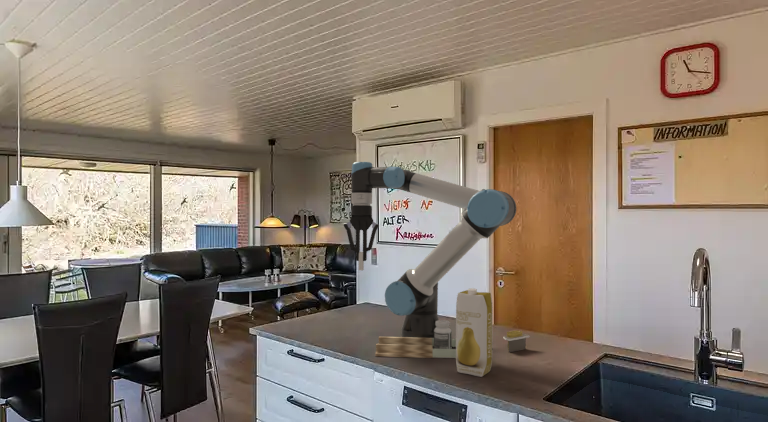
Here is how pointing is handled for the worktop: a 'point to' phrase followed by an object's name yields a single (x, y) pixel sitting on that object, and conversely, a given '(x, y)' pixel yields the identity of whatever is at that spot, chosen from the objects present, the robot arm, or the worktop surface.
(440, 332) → the pill bottle
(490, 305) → the juice carton
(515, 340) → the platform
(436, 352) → the tray
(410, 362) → the worktop surface
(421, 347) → the slot rails
